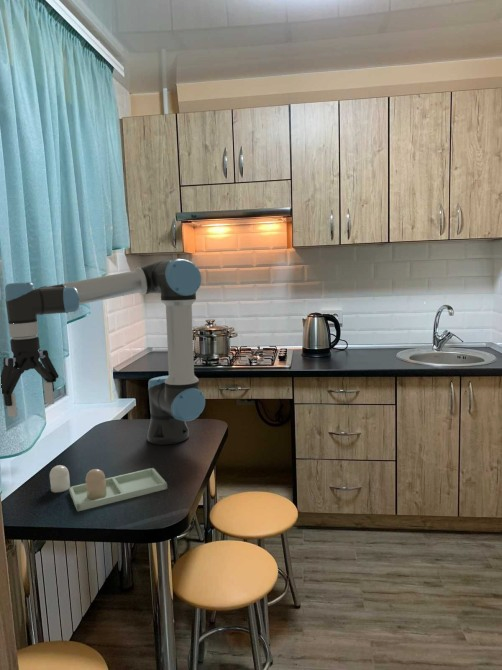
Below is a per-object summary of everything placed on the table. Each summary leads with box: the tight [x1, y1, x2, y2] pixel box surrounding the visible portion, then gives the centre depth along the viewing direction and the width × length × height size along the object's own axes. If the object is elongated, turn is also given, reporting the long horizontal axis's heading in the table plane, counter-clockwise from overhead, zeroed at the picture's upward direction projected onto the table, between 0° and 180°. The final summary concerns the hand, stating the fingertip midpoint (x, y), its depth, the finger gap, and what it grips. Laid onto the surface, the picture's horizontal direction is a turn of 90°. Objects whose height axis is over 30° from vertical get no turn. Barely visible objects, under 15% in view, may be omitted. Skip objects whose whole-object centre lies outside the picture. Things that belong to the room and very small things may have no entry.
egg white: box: [49, 464, 71, 493], centre depth 148 cm, size 5×5×8 cm
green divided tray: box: [68, 467, 168, 512], centre depth 145 cm, size 24×13×2 cm, turn 118°
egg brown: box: [84, 468, 107, 500], centre depth 142 cm, size 5×5×8 cm
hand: (32, 409), depth 149 cm, fingers open, 13 cm apart
